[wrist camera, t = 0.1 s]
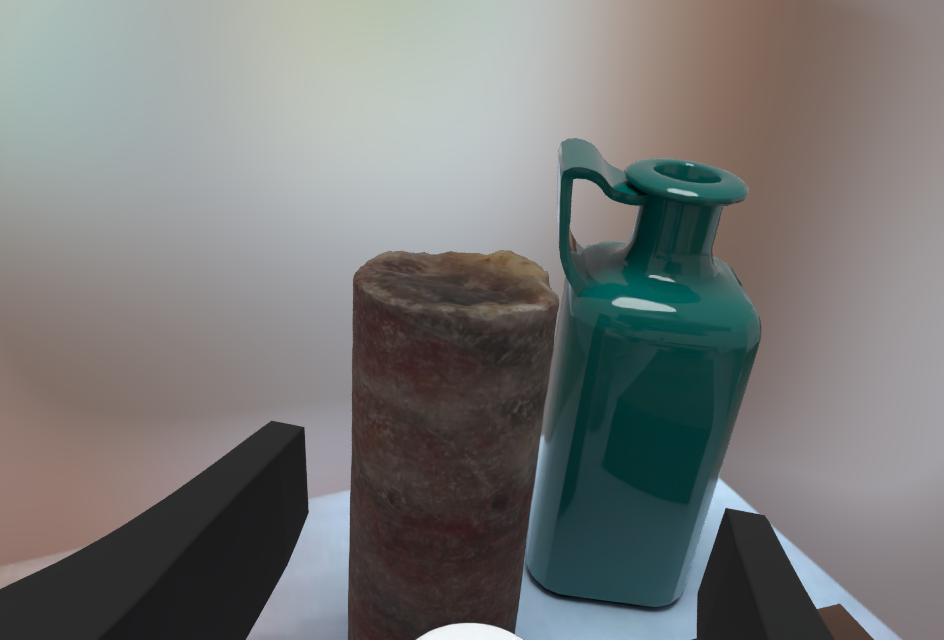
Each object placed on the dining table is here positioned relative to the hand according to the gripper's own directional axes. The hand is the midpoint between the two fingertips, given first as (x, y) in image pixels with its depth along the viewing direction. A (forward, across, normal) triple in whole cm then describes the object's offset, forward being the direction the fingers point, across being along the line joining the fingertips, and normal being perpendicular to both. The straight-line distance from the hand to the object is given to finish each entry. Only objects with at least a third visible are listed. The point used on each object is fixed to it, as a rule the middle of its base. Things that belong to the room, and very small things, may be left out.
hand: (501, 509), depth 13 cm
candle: (+12, +4, +23) cm, 26 cm away
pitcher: (+22, -3, +24) cm, 33 cm away
